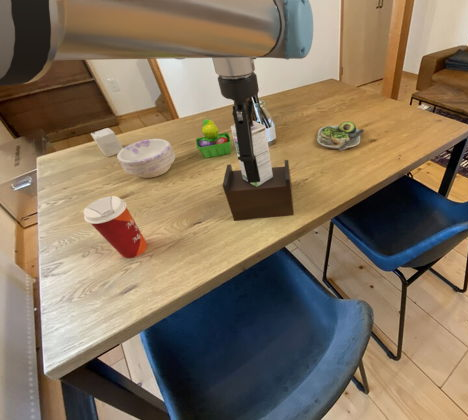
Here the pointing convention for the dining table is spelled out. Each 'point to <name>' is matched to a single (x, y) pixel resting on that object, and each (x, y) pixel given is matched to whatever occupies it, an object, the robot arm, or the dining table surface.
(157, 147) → the paper bowls
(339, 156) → the dining table surface
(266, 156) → the syrup box
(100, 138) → the product carton
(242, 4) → the robot arm
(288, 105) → the dining table surface
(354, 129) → the salad plate
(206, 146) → the fruit basket
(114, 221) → the paper cup
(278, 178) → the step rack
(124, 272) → the dining table surface
